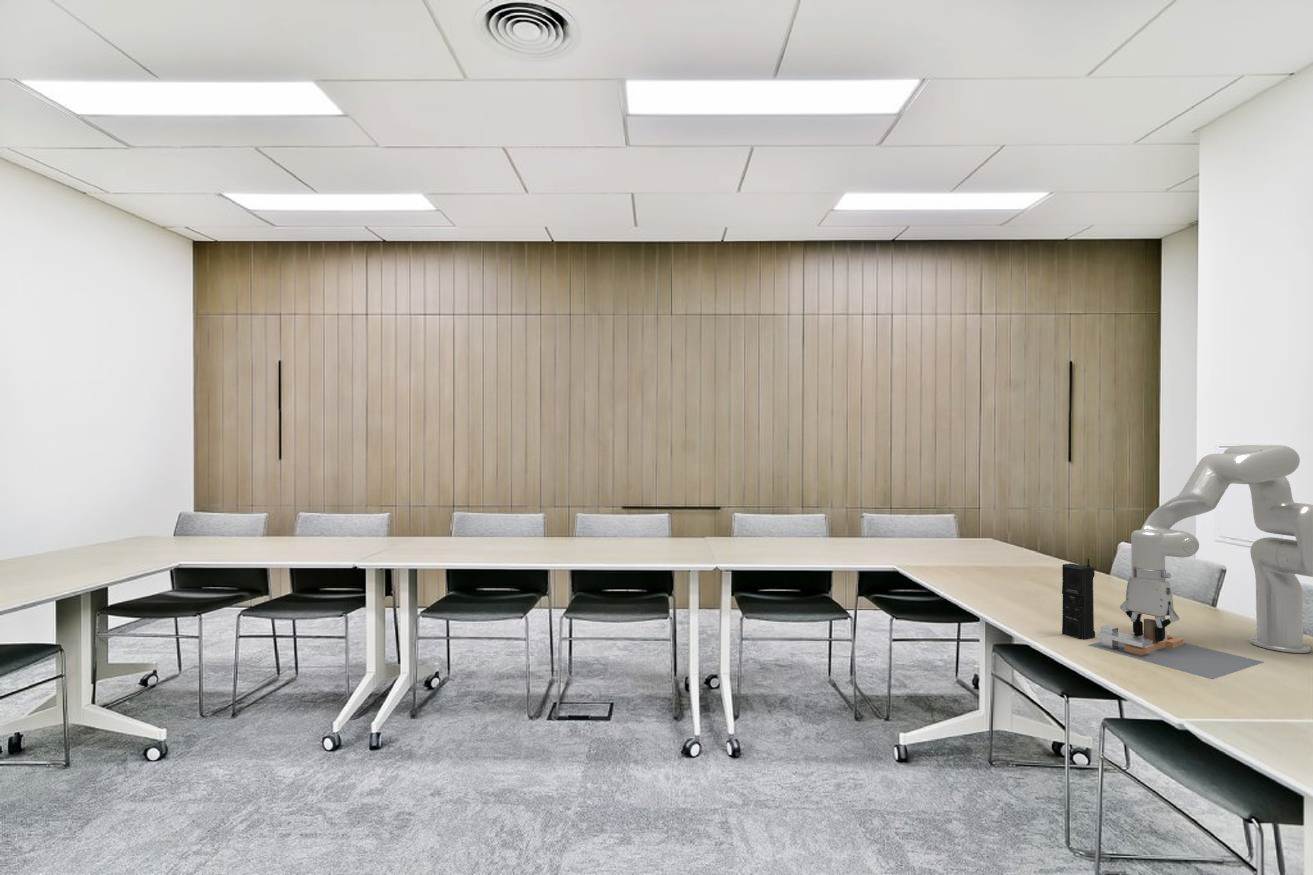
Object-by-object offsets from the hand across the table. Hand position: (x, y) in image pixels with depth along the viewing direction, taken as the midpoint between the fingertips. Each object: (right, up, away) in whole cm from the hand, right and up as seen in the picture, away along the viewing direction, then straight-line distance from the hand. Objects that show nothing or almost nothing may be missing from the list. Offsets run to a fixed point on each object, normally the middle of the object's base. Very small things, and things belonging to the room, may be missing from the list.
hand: (1148, 637), depth 176 cm
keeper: (-9, -4, -2) cm, 10 cm away
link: (+1, -3, +1) cm, 3 cm away
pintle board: (+3, -4, -5) cm, 7 cm away
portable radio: (-13, -5, +12) cm, 18 cm away
